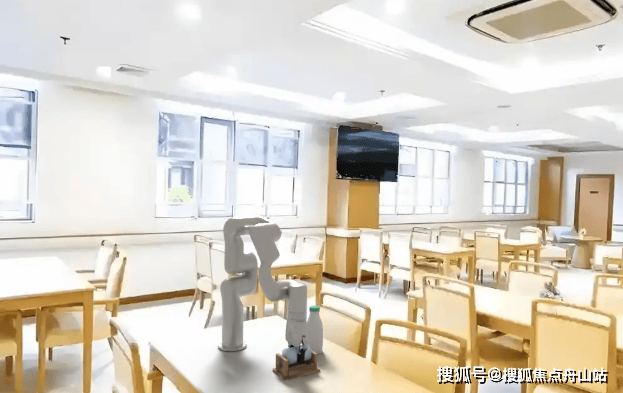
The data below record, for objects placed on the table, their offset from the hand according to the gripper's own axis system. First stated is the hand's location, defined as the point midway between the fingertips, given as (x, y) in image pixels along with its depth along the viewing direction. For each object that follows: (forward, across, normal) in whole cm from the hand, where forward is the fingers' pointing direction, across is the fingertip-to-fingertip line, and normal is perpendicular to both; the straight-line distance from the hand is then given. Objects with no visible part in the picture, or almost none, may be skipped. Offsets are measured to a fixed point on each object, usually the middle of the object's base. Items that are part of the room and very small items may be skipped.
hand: (296, 359), depth 172 cm
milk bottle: (+5, -14, +17) cm, 22 cm away
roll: (+1, 0, 0) cm, 1 cm away
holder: (+5, 0, 0) cm, 5 cm away
